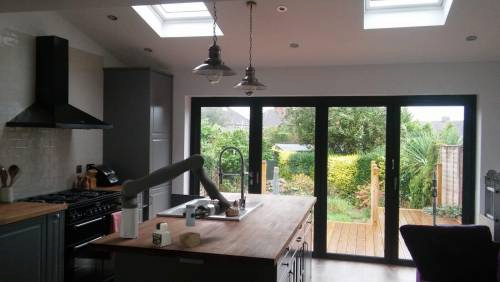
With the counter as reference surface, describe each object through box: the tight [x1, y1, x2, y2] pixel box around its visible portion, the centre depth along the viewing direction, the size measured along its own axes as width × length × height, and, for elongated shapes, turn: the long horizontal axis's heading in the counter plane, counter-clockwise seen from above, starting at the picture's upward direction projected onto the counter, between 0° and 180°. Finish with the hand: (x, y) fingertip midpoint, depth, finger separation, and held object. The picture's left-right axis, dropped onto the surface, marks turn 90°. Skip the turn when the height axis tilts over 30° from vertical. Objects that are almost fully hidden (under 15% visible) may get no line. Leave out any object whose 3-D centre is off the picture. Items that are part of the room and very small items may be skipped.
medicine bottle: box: [151, 221, 172, 248], centre depth 229 cm, size 7×7×12 cm
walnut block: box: [179, 231, 201, 248], centre depth 230 cm, size 8×8×6 cm
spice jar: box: [185, 203, 196, 228], centre depth 230 cm, size 5×5×11 cm
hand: (187, 215), depth 228 cm, fingers closed on spice jar, 5 cm apart
